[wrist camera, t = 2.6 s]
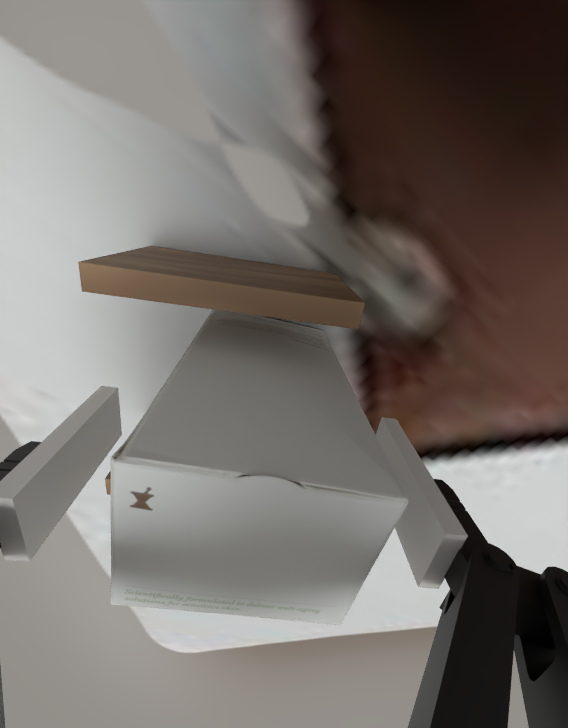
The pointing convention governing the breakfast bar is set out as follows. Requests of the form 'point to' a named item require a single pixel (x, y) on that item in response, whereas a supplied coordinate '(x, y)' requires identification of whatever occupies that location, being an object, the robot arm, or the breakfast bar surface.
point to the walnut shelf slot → (223, 286)
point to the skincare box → (251, 481)
